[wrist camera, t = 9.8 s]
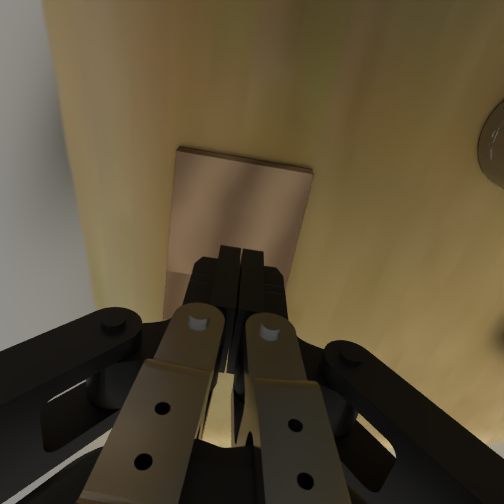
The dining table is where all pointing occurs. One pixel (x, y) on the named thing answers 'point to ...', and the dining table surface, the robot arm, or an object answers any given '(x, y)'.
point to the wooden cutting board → (231, 213)
